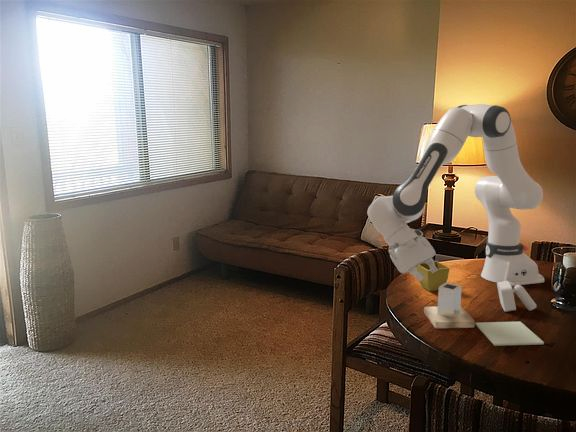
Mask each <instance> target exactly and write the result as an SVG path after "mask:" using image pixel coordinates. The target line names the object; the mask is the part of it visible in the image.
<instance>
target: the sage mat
mask: <svg viewBox="0 0 576 432" xmlns="http://www.w3.org/2000/svg"><path fill="white" fill-rule="evenodd" d="M475 326H476V327H477V328H478V329H479V330H480V331H481V333H483V334H484V336H485V337H486V338H487V339H488V340H489V341H490V343H492V344H493V346H495V347H496V346H498V347H499V346H501V347H502V346H530V345H531V346H533V345H535V346H536V345H544V343H545V342H544V341H543V340H542V339H541V338H540V337H539V336H538V335H537V334H535V333H534V332H533V331H531V329H529V328H528V327H527V326H526V325H525V324H524V323H522V321H489V322H487V321H486V322H485V321H484V322H475Z"/></svg>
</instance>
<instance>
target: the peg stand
mask: <svg viewBox="0 0 576 432" xmlns="http://www.w3.org/2000/svg"><path fill="white" fill-rule="evenodd" d="M437 310H438V305H437V306H424V307H423V313H424V315H425V316H426V317H427V319H428V320H429V322H430V323H431V325H432V326H433V327H434V329H461V328H462V329H463V328H464V329H465V328H466V329H467V328H475V326H476V325H475V323H476V321H475V320H474V318H472V316H471V315H470V314H469V313H468V312H467V311H466V310H465V309H464V308H463V306H460V314H458V315H457V316H456V317H455V318H449V317H446V316H442V315H438V314H437Z"/></svg>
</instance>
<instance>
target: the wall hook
mask: <svg viewBox="0 0 576 432" xmlns="http://www.w3.org/2000/svg"><path fill="white" fill-rule="evenodd" d="M496 286H497V287H496V288H497V292H498V297H499V302H500V305H501V308H502V309H503V311H504V312H505V313H506V312H513V311H517V306H516V301H515V295H516V296H517V298H519V300H520V301H521V303H522V304H523V305H524V306H525V308H526V309H527V310H528V311H533V310H535V309H536V308H537V304H536V302H535V301H534V299H532V297H531V296H530V294H529V293H528V292H527V290H526V289H525V287H524V286H522V285H515V286H511V285H510V284H509V282H508V281H503V282H496ZM514 293H515V294H514Z"/></svg>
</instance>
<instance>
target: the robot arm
mask: <svg viewBox="0 0 576 432" xmlns="http://www.w3.org/2000/svg"><path fill="white" fill-rule="evenodd" d="M511 119H512V118H511V115H510V112H509V110H508V109H507V108H506V107H503V106H500V105H498V104H497V105H491V104H485V103H483V104H482V103H479V104H461V105H458V106H455V107H452V108H449V109H448V110H447V111H446V112H445V113H444V114H443V116H441V118H440V120H439V121H438V122H437V123H436V125H435V127H434V128H433V130H432V131H431V134H430V135H429V137H428V138H427V141H426V144H425V147H424V150H423V151H424V152H423V155H422V157H421V159H420V160H419V162H418V164H417V166H416V167H415V169H414V170H413V172H412V174H411V175H410V177H408V179H407V180H406V181H404V182H403V183H402V184H400V185H399V186H397V188H396V189H395V190H394V191H393V195H387V196H383V195H382V196H381V195H380V196H378V197H377V198H375V199H374V200H372V202H371V203H370V204H369V206H367V207H368V208H367V210H366V211H367V212H366V213H367V216H368V219H369V220H370V223H372V225H373V226H374V228H375V229H376V231H377V232H378V233H380V234H381V235H382V237H383V240H384V241H385V243H386V244H387V245H388V246H389V247H388V253H389V257H390V260H391V261H392V263H393V264H394V266H395V267H396V269H397V270H398V272H399V273H400V274H405V273H407V272H409V274H410V275H412V276H413V277H415V278H416V279H417V280H418V282H419V281H421V280H423V279H424V278H425V276H424V275H423V274H422V273H421V274H420V272H418V271H417V266H418V265H420V264H422V263H425V262H426V264H428V265H429V267H430V269H429V270H430V271H431V272H432V273H435V272H436V271H437V270H438V269H437V267H436V266H435V264H434V261H435V259H433V257H434V256H436V255H437V254H436V250H435V249H434V247H433V245H431V243H430V242H429V240H428V239H427V238H426V237H424V236H423V235H424V233H423V232H422V231H421V230H420V229H414V228H410V226H409V225H408V224H409V223H411V222H413V221H416V220H418V219H419V218H420V217H421V216H423V215H422V214H423V213H424V210H425V205H426V201H427V191H428V188H429V187H430V185H431V183H432V181H433V179H434V178H435V176H436V175H437V173H438V172H439V169H441V167H442V166H444V165H445V166H446V165H448V164H450V163H452V162H453V161H454V159H455V158H456V157H457V156H458V154H460V152H461V150H462V149H463V146H464V145H465V143H466V141H467V138H468V137H472V138H482V143H483V152H484V158H485V163H486V167H487V168H488V169H489V171H490V172H492V173H493V174H495V175H487V176H482V177H480V178H479V179H478V180H477V181H476V183H475V186H474V194H475V198H477V200H479V202H480V203H481V204H482V206H483V208H484V210H485V213H486V216H487V220H488V231H487V232H488V237H487V240H486V244H485V245H486V246H485V256H486V257H485V260H484V264H483V268H482V271H481V274H480V276H481V278H483V280H486V281H489V282H493V283H497V282H503V281H508V282H509V284H510V285H511V287H515V286H516V285H521V286H522V285H530V284H531V285H532V284H541V283H545V277H544V276H543V275H542V274H540V273H539V268H538V267H539V266H538V264H537V263H536V262H535V261H534V260H533V259H531V257H529V256H528V255H527V254H526V253H524V252H529V250H530V247H529V246H528V245H527V244H526V245H525V244H523V243H521V242H520V238H521V223H520V221H519V219H517V218H516V216H514V215H513V213H512V211H511V209H517V210H526V211H527V210H534V209H537V208H538V207H539V205H541V203H542V201H543V198H544V191H543V188H542V186H541V185H540V184H539V183H538V182H536V181H535V180H534V179H533V178H532V177H531V176H530V175H529V173H527V171H526V170H525V167H524V166H523V164H522V162H521V158H520V155H519V150H518V142H517V137H516V132H515V128H514V125H513V123H512V120H511ZM510 208H511V209H510Z"/></svg>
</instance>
